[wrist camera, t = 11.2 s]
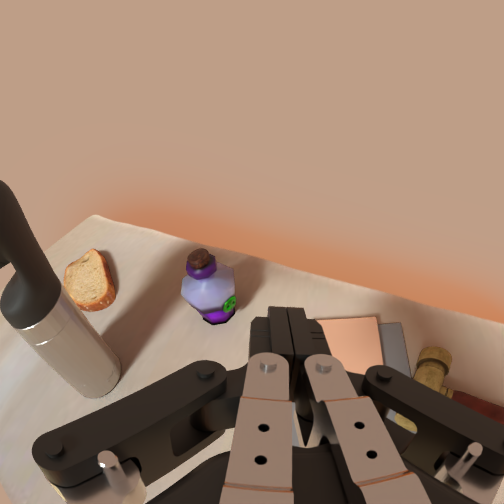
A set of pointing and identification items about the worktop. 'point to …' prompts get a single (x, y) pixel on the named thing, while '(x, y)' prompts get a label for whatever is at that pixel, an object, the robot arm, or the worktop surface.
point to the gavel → (432, 375)
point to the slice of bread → (90, 282)
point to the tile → (354, 342)
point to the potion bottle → (209, 287)
